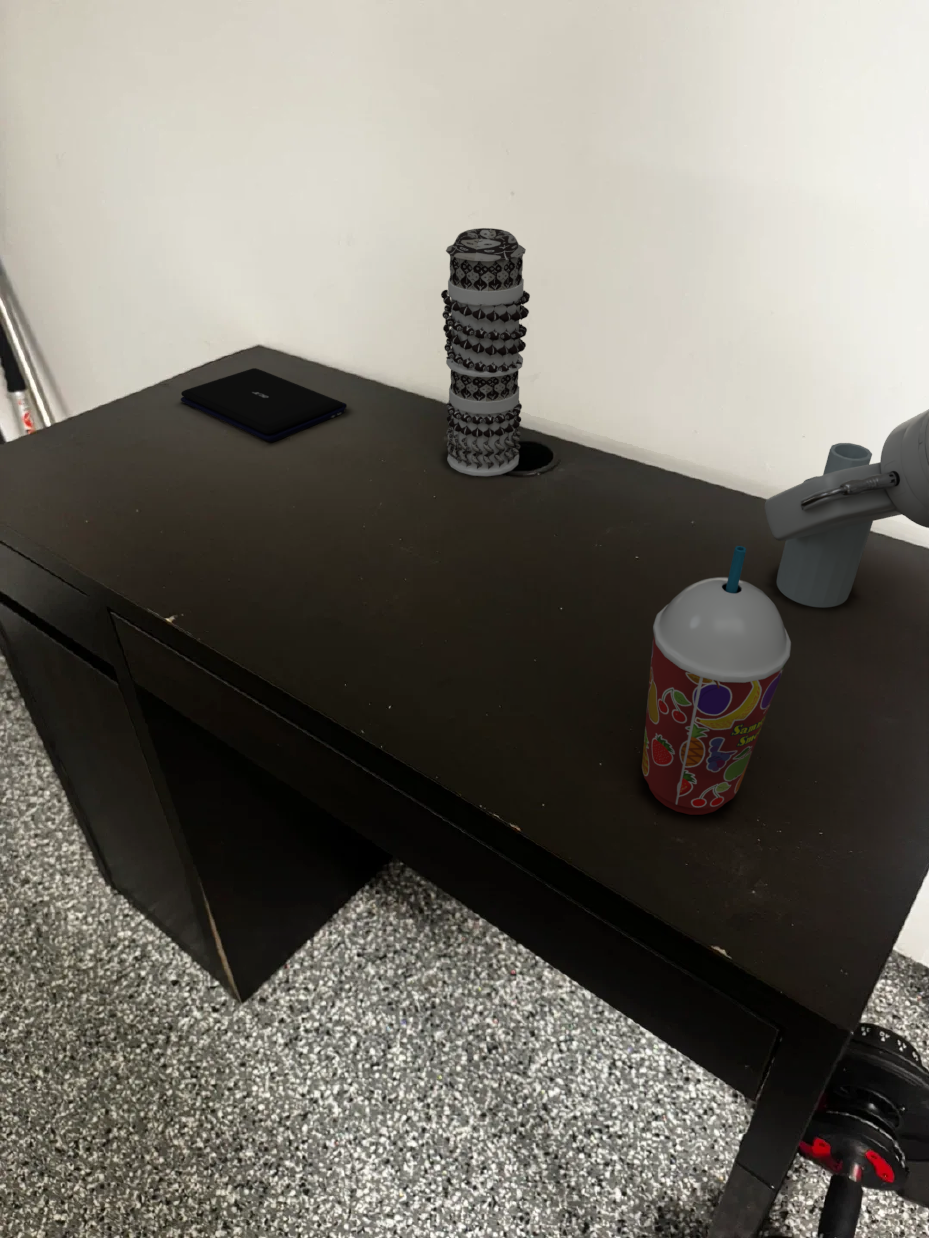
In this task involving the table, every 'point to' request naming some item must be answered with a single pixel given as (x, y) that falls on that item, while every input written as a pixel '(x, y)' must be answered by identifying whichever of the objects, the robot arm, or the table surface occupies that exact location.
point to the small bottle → (826, 548)
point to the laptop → (263, 404)
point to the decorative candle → (484, 350)
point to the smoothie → (710, 689)
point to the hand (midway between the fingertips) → (826, 517)
